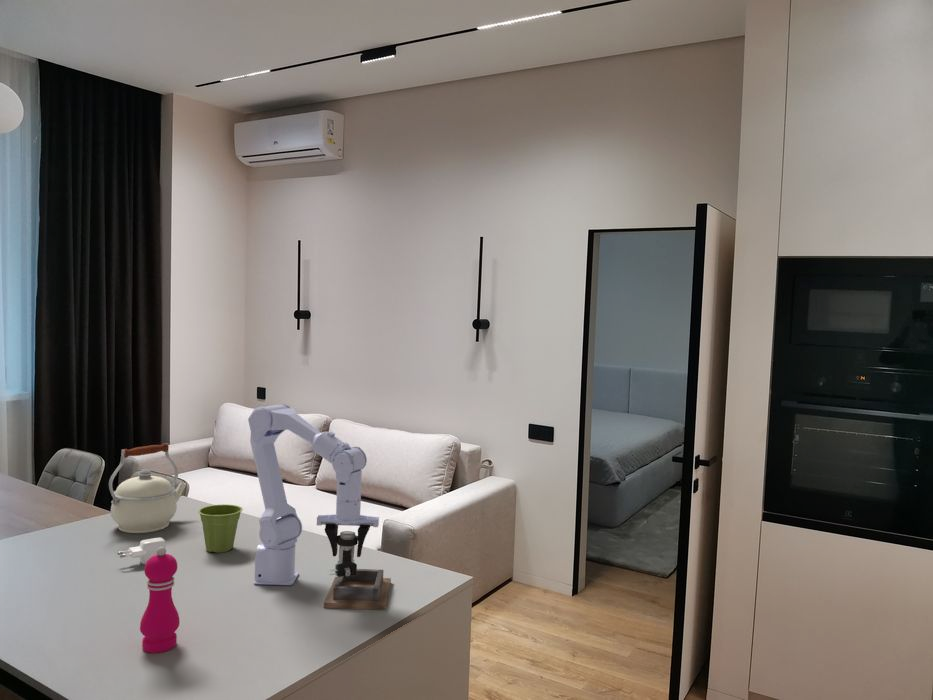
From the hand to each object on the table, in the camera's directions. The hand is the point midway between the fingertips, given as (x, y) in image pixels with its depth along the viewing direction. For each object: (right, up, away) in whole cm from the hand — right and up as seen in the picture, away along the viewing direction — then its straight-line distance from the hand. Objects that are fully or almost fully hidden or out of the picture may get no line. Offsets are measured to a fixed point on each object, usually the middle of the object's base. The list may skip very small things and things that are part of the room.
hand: (347, 555), depth 165 cm
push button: (-1, -5, 0) cm, 5 cm away
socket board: (+3, -10, +2) cm, 11 cm away
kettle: (-70, -5, +48) cm, 85 cm away
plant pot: (-41, -7, +30) cm, 51 cm away
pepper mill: (-33, -10, -27) cm, 44 cm away
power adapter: (-57, -7, +16) cm, 59 cm away
